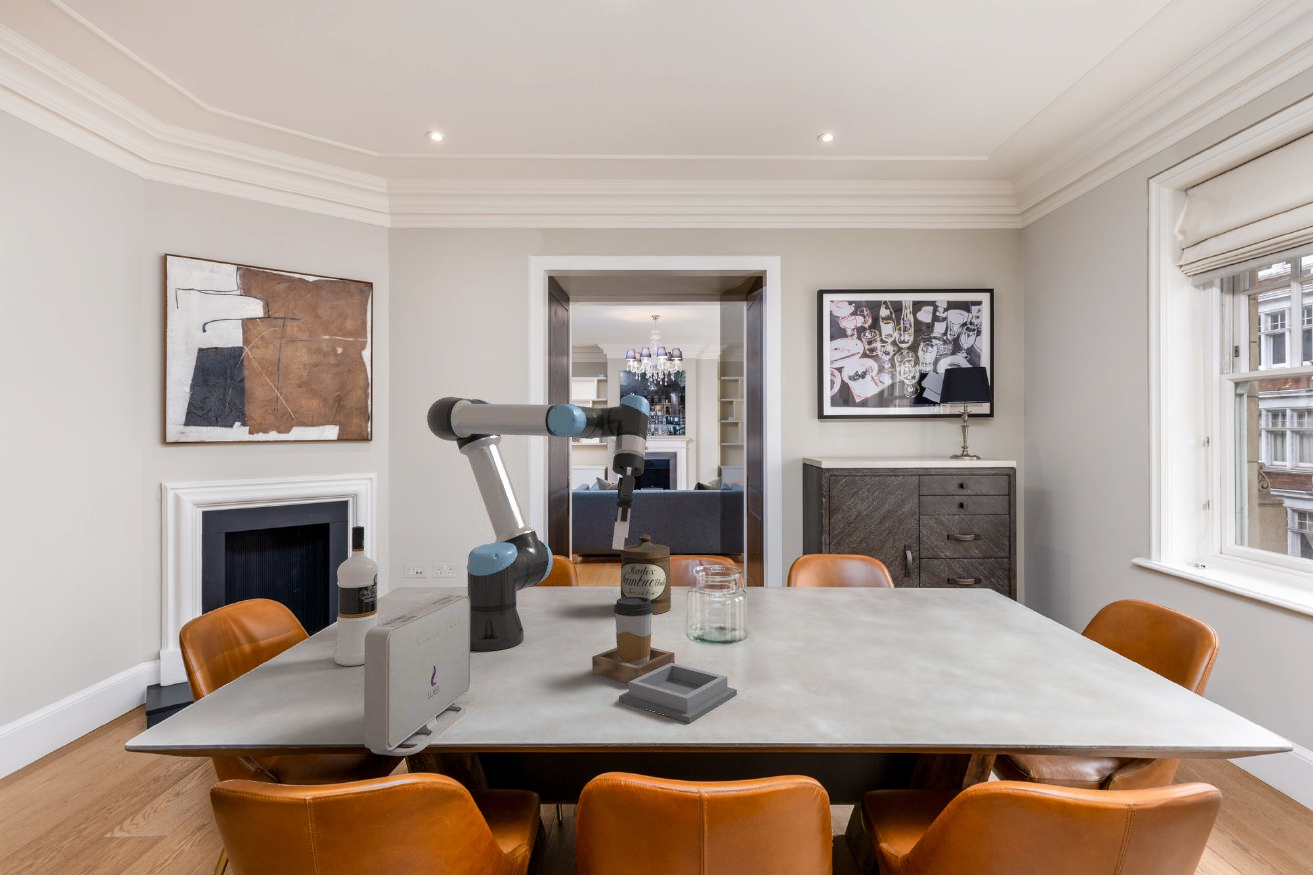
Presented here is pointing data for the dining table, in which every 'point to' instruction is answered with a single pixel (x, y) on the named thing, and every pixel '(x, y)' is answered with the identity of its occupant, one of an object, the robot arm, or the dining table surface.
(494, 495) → the robot arm
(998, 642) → the dining table surface
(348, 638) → the vodka
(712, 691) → the dock pad
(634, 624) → the coffee cup
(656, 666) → the walnut holder
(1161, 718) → the dining table surface
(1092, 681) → the dining table surface
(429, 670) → the network device
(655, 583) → the wooden container
